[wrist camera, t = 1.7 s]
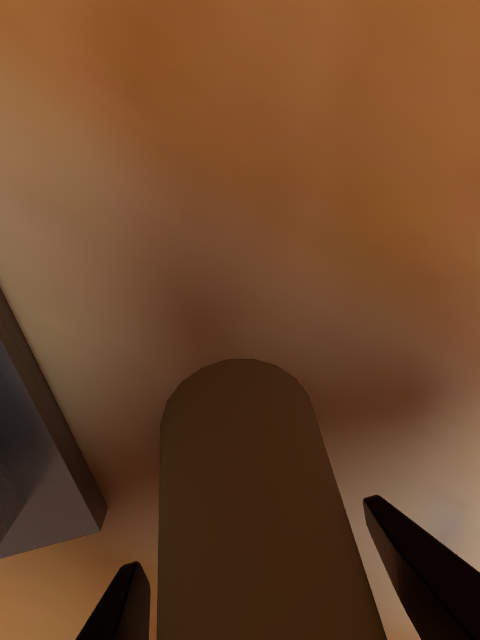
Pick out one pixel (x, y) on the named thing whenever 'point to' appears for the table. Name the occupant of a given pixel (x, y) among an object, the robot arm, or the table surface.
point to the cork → (253, 516)
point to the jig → (38, 457)
